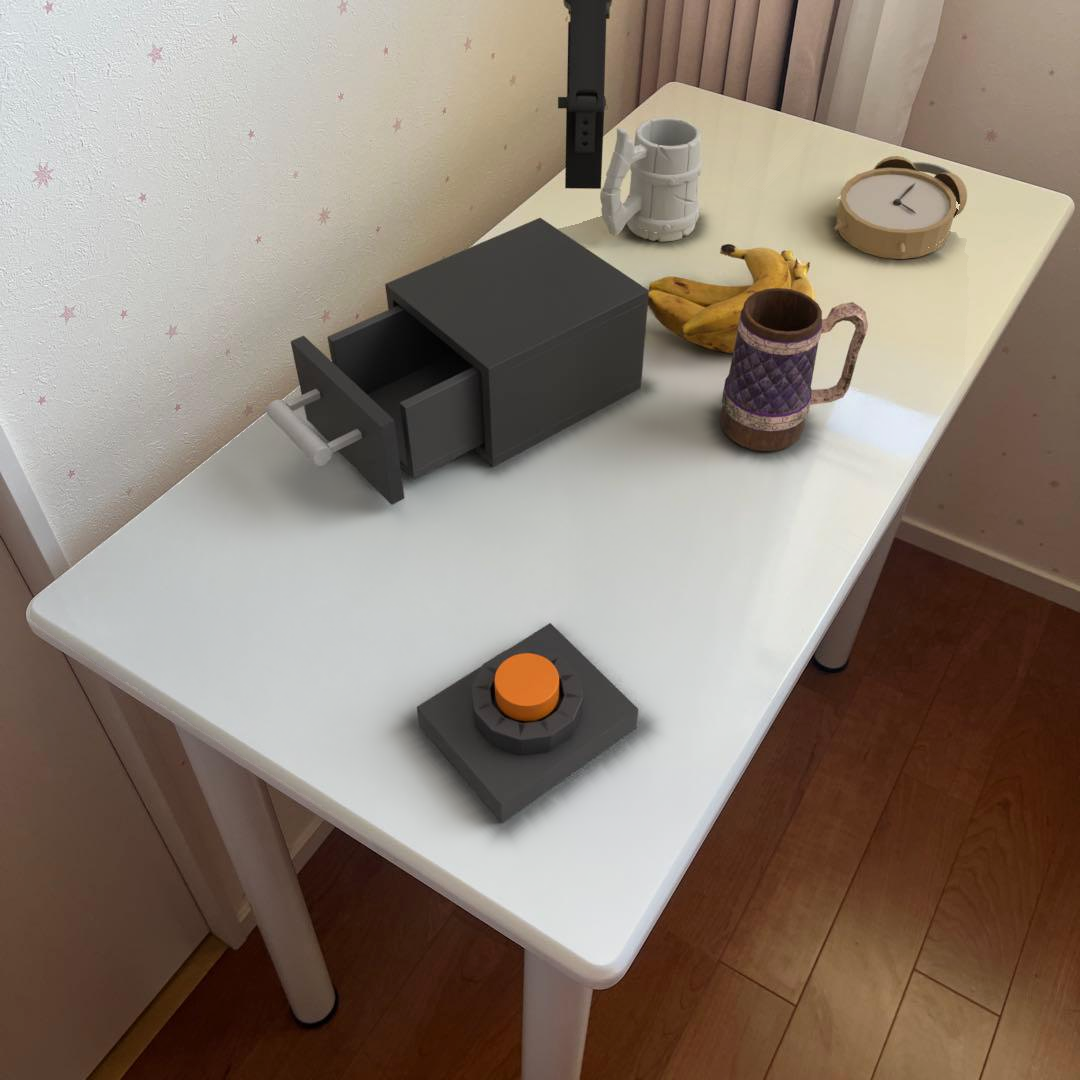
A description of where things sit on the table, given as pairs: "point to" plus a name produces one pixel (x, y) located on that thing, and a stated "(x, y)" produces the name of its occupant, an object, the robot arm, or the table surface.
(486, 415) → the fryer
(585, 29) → the robot arm
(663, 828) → the table surface
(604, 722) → the control block
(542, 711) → the button
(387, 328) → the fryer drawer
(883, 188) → the alarm clock
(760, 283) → the banana
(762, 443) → the mug
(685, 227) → the mug
